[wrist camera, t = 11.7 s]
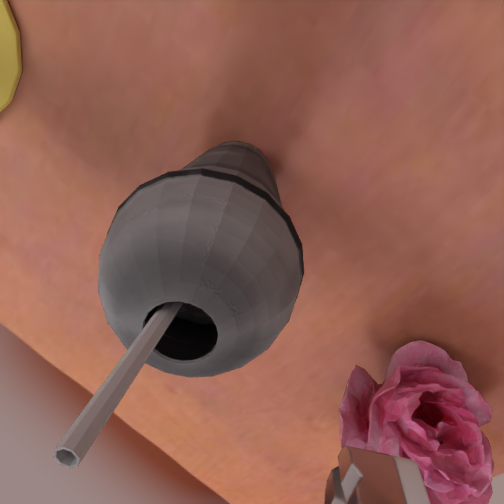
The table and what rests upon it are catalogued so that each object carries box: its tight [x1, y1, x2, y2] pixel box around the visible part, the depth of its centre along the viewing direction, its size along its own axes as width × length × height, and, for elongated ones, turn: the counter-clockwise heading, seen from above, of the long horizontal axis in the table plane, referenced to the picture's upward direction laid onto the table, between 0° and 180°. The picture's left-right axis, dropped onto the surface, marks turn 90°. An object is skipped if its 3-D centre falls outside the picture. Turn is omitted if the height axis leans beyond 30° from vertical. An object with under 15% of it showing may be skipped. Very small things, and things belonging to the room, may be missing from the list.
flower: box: [339, 340, 494, 504], centre depth 28 cm, size 11×10×10 cm
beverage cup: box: [53, 141, 304, 468], centre depth 16 cm, size 7×7×20 cm
